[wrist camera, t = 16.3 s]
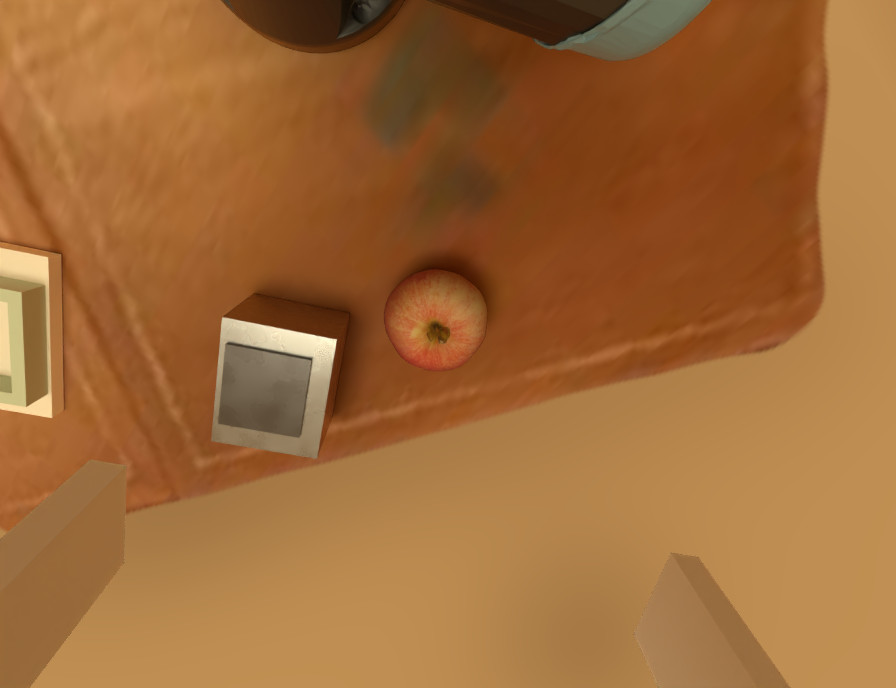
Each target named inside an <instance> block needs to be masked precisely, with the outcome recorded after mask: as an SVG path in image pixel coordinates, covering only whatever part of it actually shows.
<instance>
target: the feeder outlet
mask: <svg viewBox="0 0 896 688" xmlns="http://www.w3.org/2000/svg"><path fill="white" fill-rule="evenodd" d="M349 317H350V313H347V312H343V311H338V310H333V309H328V308H323V307H318V306H313V305H308V304H303V303H298V302H294V301H289V300H284V299H279V298H274V297H269V296H264V295H259V294H253V295H251V296H250V297H248V298H247V299H246V300H244V301H243V302H242V303H240V304H239V305H238V306H236V307H235V308H234V309H232V310H231V311H230V312H228V313H227V314H226V315H224V316H223V317H222V326H221V337H220V348H219V359H218V371H217V382H216V393H215V404H214V416H213V427H212V438H211V441H215V442H221V443H227V444H232V445H238V446H244V447H250V448H256V449H262V450H268V451H274V452H280V453H286V454H292V455H298V456H304V457H309V458H315V459H317V457H318V455H319V452H320V449H321V446H322V444H323V441H324V438H325V435H326V433H327V430H328V427H329V424H330V422H331V419H332V416H333V410H334V404H335V398H336V392H337V387H338V381H339V375H340V369H341V363H342V358H343V352H344V346H345V340H346V334H347V329H348V323H349Z"/></svg>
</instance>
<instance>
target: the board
mask: <svg viewBox="0 0 896 688" xmlns="http://www.w3.org/2000/svg"><path fill="white" fill-rule="evenodd" d="M0 409H2V410H8V411H14V412H20V413H26V414H32V415H38V416H44V417H50V418H53V417H54V416H56V415H57V414H59V413H60V412H62V411H63V410H64V384H63V322H62V260H61V254H58V253H53V252H48V251H43V250H38V249H34V248H29V247H24V246H19V245H14V244H9V243H4V242H0Z"/></svg>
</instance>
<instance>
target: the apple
mask: <svg viewBox="0 0 896 688" xmlns="http://www.w3.org/2000/svg"><path fill="white" fill-rule="evenodd" d="M384 323H385V328H386V332H387V334H388V337H389V339H390V340H391V342H392V344H393V346H394V347H395V349H396V351H397V352H398V353H399V355H400V356H401V357H402V358H403V359H404V360H405V361H407V362H408V363H410V364H412V365H414V366H416V367H419V368H422V369H425V370H429V371H447V370H452V369H455V368H458V367H460V366H462V365H463V364H465V363H466V362H467V361H468V360H469V359H470V358H471V357H472V355H473V354H474V353H475V351H476V350H477V349H478V348H479V347H480V345H481V344H482V342H483V340H484V338H485V334H486V328H487V308H486V304H485V301H484V298H483V296H482V294H481V293H480V291H479V290H478V289H477V288H476V287H475V286H474V285H473V284H472V283H471V282H469V281H468V280H467V279H465V278H464V277H462V276H461V275H459V274H456V273H454V272H449V271H445V270H439V269H432V270H425V271H421V272H418V273H415V274H412V275H410V276H409V277H407V278H406V279H405V280H403V281H402V282H401V283H400V284H399V285H398V286H397V287H396V288H395V289H394V290H393V291H392V293H391V294H390V296H389V297H388V300H387V302H386V305H385V310H384Z"/></svg>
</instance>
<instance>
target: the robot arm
mask: <svg viewBox="0 0 896 688" xmlns="http://www.w3.org/2000/svg"><path fill="white" fill-rule="evenodd" d="M221 1H222V2H223V3H224V4H225V5H226V6H227V7H228V8H229V9H230V10H231V11H232V12H233V13H234V14H235V15H236V16H237V17H238V18H239V19H241V20H242V21H243V22H244V23H246V24H247V25H248V26H249V27H251V28H252V29H253V30H254V31H256V32H257V33H259V34H260V35H262V36H263V37H265V38H267V39H269V40H270V41H272V42H274V43H277V44H279V45H281V46H284V47H286V48H290V49H293V50H297V51H302V52H309V53H329V52H336V51H341V50H344V49H348V48H351V47H353V46H356V45H358V44H360V43H362V42H364V41H366V40H367V39H369V38H371V37H372V36H373V35H375V34H376V33H377V32H379V31H380V30H381V29H382V28H383V27H384V26H385V25H386V24H387V23H388V22H389V21H390V20H391V19H392V18H393V16H394V15H395V14H396V13H397V11H398V10H399V8H400V7H401V5H402V4H403V2H404V0H221ZM428 1H431V2H433V3H436V4H439V5H442V6H445V7H447V8H450V9H453V10H456V11H458V12H461V13H464V14H467V15H470V16H472V17H475V18H478V19H481V20H484V21H486V22H489V23H492V24H495V25H497V26H500V27H503V28H506V29H509V30H511V31H514V32H517V33H520V34H523V35H525V36H528V37H531V38H533V40H534V41H535V42H536V43H537V44H538V45H540V46H542V47H544V48H546V49H550V50H551V49H556V50H565V49H568V50H571V51H575V52H578V53H581V54H585V55H588V56H591V57H595V58H598V59H602V60H605V61H622V60H629V59H634V58H637V57H640V56H642V55H644V54H647V53H649V52H651V51H653V50H654V49H656V48H658V47H659V46H661V45H662V44H664V43H665V42H667V41H668V40H670V39H671V38H672V37H674V36H675V35H676V34H678V33H679V32H680V31H681V30H682V29H684V28H685V27H686V26H687V25H688V24H689V23H690V22H691V21H692V20H693V19H694V18H695V17H696V16H697V15H698V14H699V13H700V12H701V11H702V10H703V9H704V8H705V7H706V6H707V5H708V4H709V3H710V2H711V1H712V0H428ZM126 470H127V465H120V464H114V463H108V462H102V461H96V460H89V461H88V462H87V463H86V464H85V465H84V466H83V467H81V468H80V469H79V470H78V471H77V472H76V473H75V474H73V475H72V476H71V477H70V478H69V479H68V480H67V481H65V482H64V483H63V484H62V485H61V486H60V487H59V488H57V489H56V490H55V491H54V492H53V493H52V494H51V495H50V496H48V497H47V498H46V499H45V500H44V501H43V502H42V503H40V504H39V505H38V506H37V507H36V508H35V509H34V510H32V511H31V512H30V513H29V514H28V515H27V516H26V517H25V518H23V519H22V520H21V521H20V522H19V523H18V524H17V525H15V526H14V527H13V528H12V529H11V530H10V531H9V532H7V533H6V534H5V535H4V536H3V537H2V538H1V539H0V688H30V687H31V685H32V684H33V683H34V681H35V680H36V679H37V677H38V676H39V675H40V673H41V672H42V671H43V669H44V668H45V667H46V665H47V664H48V663H49V661H50V660H51V659H52V657H53V656H54V655H55V653H56V652H57V651H58V650H59V648H60V647H61V645H62V644H63V643H64V641H65V640H66V639H67V638H68V636H69V635H70V634H71V632H72V631H73V630H74V628H75V627H76V626H77V624H78V623H79V622H80V620H81V619H82V618H83V616H84V615H85V614H86V612H87V611H88V610H89V608H90V607H91V606H92V604H93V603H94V602H95V601H96V599H97V598H98V596H99V595H100V594H101V593H102V591H103V590H104V589H105V587H106V586H107V585H108V583H109V582H110V581H111V579H112V578H113V577H114V575H115V574H116V573H117V571H118V570H119V569H120V567H121V566H122V565H123V564H124V538H125V504H126ZM634 635H635V638H636V640H637V642H638V644H639V646H640V649H641V651H642V653H643V655H644V658H645V660H646V662H647V664H648V666H649V669H650V671H651V673H652V675H653V678H654V679H655V682H656V684H657V686H658V688H790V686H789V685H788V683H787V682H786V681H785V679H784V678H783V676H782V675H781V674H780V672H779V671H778V669H777V668H776V667H775V665H774V664H773V662H772V661H771V659H770V658H769V656H768V655H767V654H766V652H765V651H764V650H763V648H762V647H761V645H760V644H759V642H758V641H757V639H756V638H755V637H754V635H753V634H752V633H751V631H750V630H749V629H748V627H747V625H746V624H745V622H744V621H743V620H742V618H741V617H740V615H739V614H738V613H737V611H736V610H735V608H734V607H733V605H732V604H731V603H730V601H729V600H728V598H727V597H726V596H725V594H724V593H723V591H722V590H721V589H720V587H719V586H718V584H717V583H716V581H715V580H714V579H713V577H712V576H711V574H710V573H709V571H708V570H707V569H706V567H705V566H704V565H703V563H702V562H701V560H700V559H699V557H694V556H688V555H682V554H675V553H670V555H669V558H668V560H667V562H666V564H665V567H664V569H663V571H662V573H661V575H660V577H659V580H658V582H657V584H656V586H655V588H654V591H653V593H652V595H651V597H650V599H649V602H648V604H647V606H646V608H645V610H644V613H643V615H642V617H641V619H640V621H639V624H638V626H637V628H636V630H635V632H634Z"/></svg>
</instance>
